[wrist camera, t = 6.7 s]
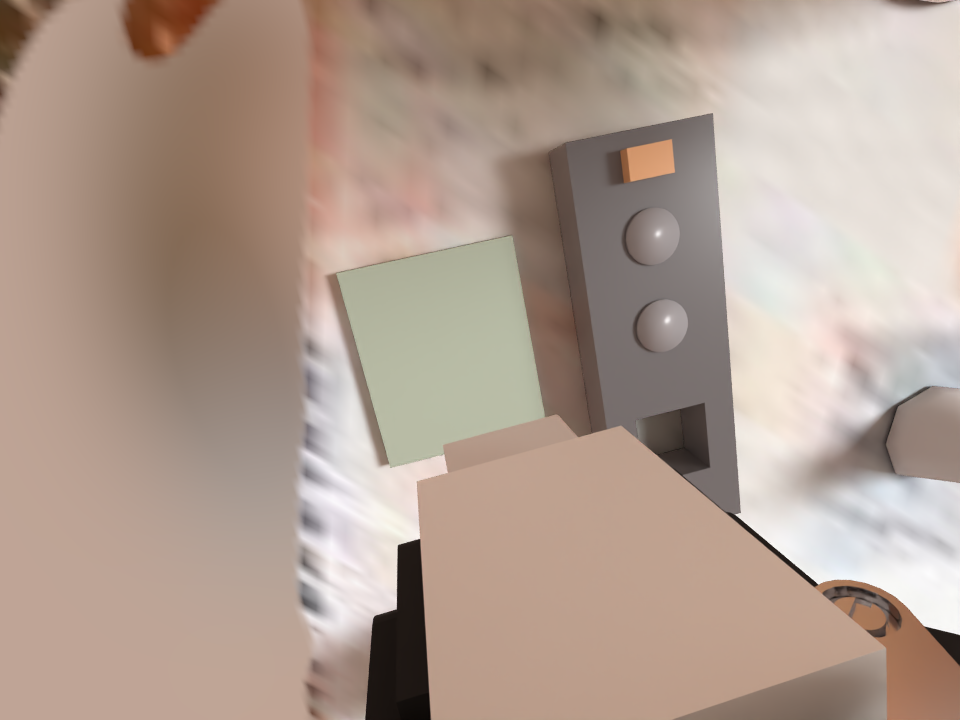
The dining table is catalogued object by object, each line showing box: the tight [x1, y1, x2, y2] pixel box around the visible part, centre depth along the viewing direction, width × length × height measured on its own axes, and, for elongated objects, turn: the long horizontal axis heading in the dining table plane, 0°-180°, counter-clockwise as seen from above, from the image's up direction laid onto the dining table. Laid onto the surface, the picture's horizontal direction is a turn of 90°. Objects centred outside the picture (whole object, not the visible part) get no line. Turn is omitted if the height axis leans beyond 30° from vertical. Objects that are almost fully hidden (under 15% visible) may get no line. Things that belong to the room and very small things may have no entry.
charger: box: [417, 414, 887, 720], centre depth 11 cm, size 5×5×10 cm
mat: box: [336, 235, 545, 468], centre depth 30 cm, size 12×10×1 cm
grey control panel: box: [549, 113, 741, 514], centre depth 30 cm, size 24×8×4 cm, turn 12°
